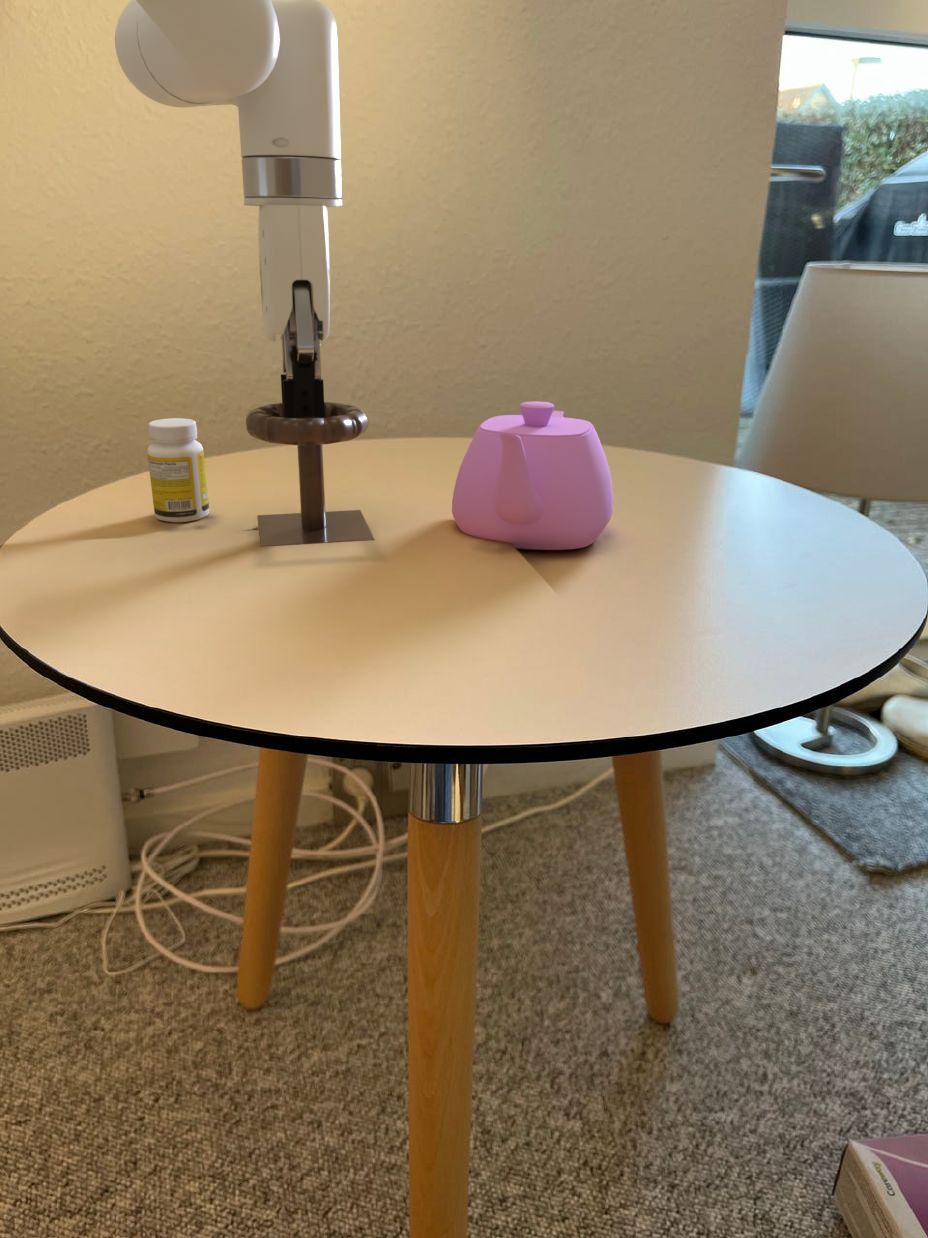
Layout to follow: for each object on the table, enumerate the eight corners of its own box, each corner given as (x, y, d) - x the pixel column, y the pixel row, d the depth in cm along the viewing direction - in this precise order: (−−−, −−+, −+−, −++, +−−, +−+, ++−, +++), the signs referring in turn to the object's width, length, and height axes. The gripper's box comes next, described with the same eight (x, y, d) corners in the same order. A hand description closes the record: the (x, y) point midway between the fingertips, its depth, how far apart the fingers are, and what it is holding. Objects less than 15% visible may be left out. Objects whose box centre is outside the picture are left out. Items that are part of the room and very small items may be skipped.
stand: (262, 558, 77) (253, 431, 74) (257, 526, 85) (249, 410, 82) (375, 551, 79) (372, 427, 75) (360, 520, 87) (357, 407, 84)
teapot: (420, 564, 76) (419, 421, 72) (483, 500, 94) (485, 382, 90) (592, 581, 73) (601, 432, 69) (623, 511, 91) (632, 389, 87)
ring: (247, 449, 74) (245, 422, 73) (245, 424, 82) (244, 400, 82) (374, 445, 76) (374, 419, 75) (359, 421, 84) (359, 398, 84)
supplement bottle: (186, 506, 91) (177, 415, 88) (220, 514, 89) (212, 421, 85) (143, 517, 88) (132, 422, 84) (177, 526, 85) (167, 429, 82)
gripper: (240, 188, 82) (255, 410, 89) (245, 180, 67) (262, 446, 74) (331, 190, 84) (338, 408, 90) (354, 183, 69) (360, 443, 76)
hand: (303, 423), depth 82 cm, fingers closed on ring, 2 cm apart
